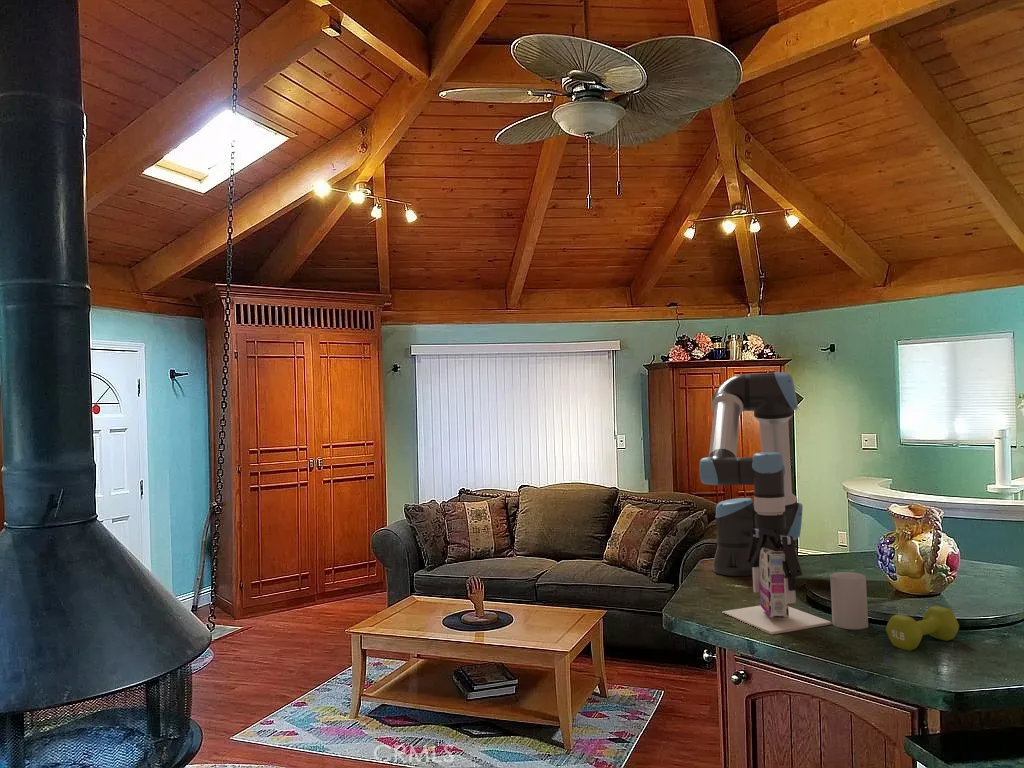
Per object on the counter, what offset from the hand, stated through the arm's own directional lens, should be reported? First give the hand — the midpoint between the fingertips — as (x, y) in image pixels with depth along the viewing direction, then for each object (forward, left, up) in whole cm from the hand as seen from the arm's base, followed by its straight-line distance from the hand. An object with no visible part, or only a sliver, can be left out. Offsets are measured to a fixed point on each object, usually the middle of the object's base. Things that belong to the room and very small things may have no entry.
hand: (774, 597), depth 198 cm
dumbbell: (-17, +30, -6) cm, 35 cm away
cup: (-13, +12, -6) cm, 19 cm away
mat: (0, 0, -5) cm, 5 cm away
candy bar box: (0, 0, -4) cm, 4 cm away
